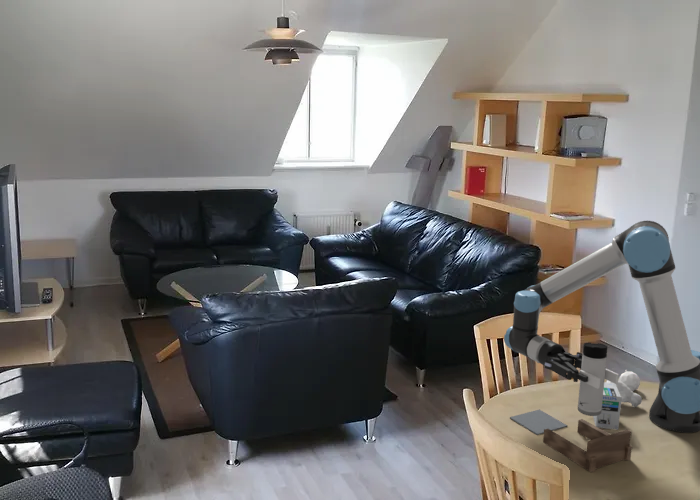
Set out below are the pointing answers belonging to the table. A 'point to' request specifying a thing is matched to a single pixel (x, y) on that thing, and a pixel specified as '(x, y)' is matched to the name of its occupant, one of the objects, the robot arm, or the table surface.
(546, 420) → the grey mat
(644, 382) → the table surface
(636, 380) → the ornament
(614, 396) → the light bulb box
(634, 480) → the table surface
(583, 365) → the travel mug
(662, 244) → the robot arm
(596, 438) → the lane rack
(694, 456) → the table surface
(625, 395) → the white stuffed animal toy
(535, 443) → the table surface
